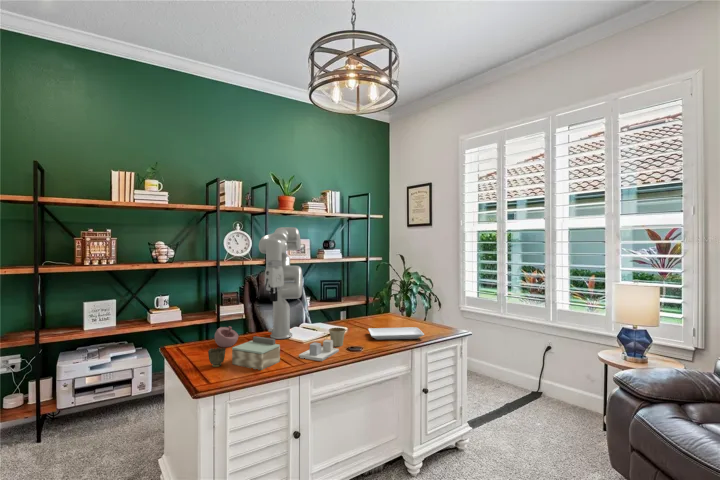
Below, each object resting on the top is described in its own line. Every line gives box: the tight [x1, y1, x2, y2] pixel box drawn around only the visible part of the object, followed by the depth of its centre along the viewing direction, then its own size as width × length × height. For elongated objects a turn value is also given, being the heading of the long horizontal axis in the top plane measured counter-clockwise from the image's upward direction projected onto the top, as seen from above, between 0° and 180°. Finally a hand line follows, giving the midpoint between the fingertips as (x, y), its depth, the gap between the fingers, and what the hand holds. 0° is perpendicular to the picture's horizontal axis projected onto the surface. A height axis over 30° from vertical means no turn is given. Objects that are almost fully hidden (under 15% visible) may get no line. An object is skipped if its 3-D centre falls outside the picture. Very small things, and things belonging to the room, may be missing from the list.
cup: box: [207, 346, 227, 368], centre depth 167 cm, size 8×7×8 cm
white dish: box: [298, 345, 340, 362], centre depth 185 cm, size 13×17×1 cm
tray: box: [367, 326, 425, 340], centre depth 221 cm, size 17×31×4 cm, turn 96°
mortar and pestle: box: [214, 325, 239, 348], centre depth 198 cm, size 12×12×12 cm
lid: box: [231, 336, 281, 354], centre depth 172 cm, size 17×13×3 cm
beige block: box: [322, 339, 334, 352], centre depth 188 cm, size 4×4×5 cm
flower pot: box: [328, 327, 347, 348], centre depth 201 cm, size 9×9×9 cm
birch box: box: [231, 346, 281, 371], centre depth 172 cm, size 17×13×7 cm
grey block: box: [309, 341, 322, 356], centre depth 183 cm, size 4×4×5 cm
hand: (273, 301), depth 183 cm, fingers closed
